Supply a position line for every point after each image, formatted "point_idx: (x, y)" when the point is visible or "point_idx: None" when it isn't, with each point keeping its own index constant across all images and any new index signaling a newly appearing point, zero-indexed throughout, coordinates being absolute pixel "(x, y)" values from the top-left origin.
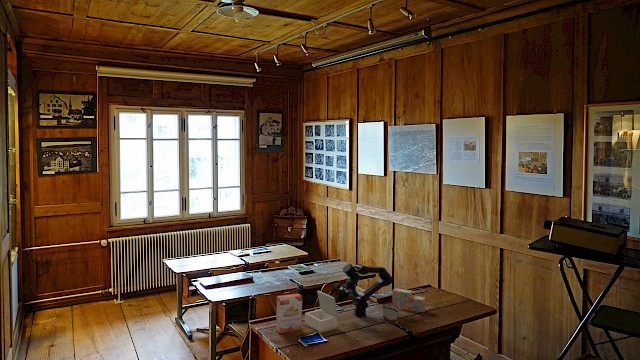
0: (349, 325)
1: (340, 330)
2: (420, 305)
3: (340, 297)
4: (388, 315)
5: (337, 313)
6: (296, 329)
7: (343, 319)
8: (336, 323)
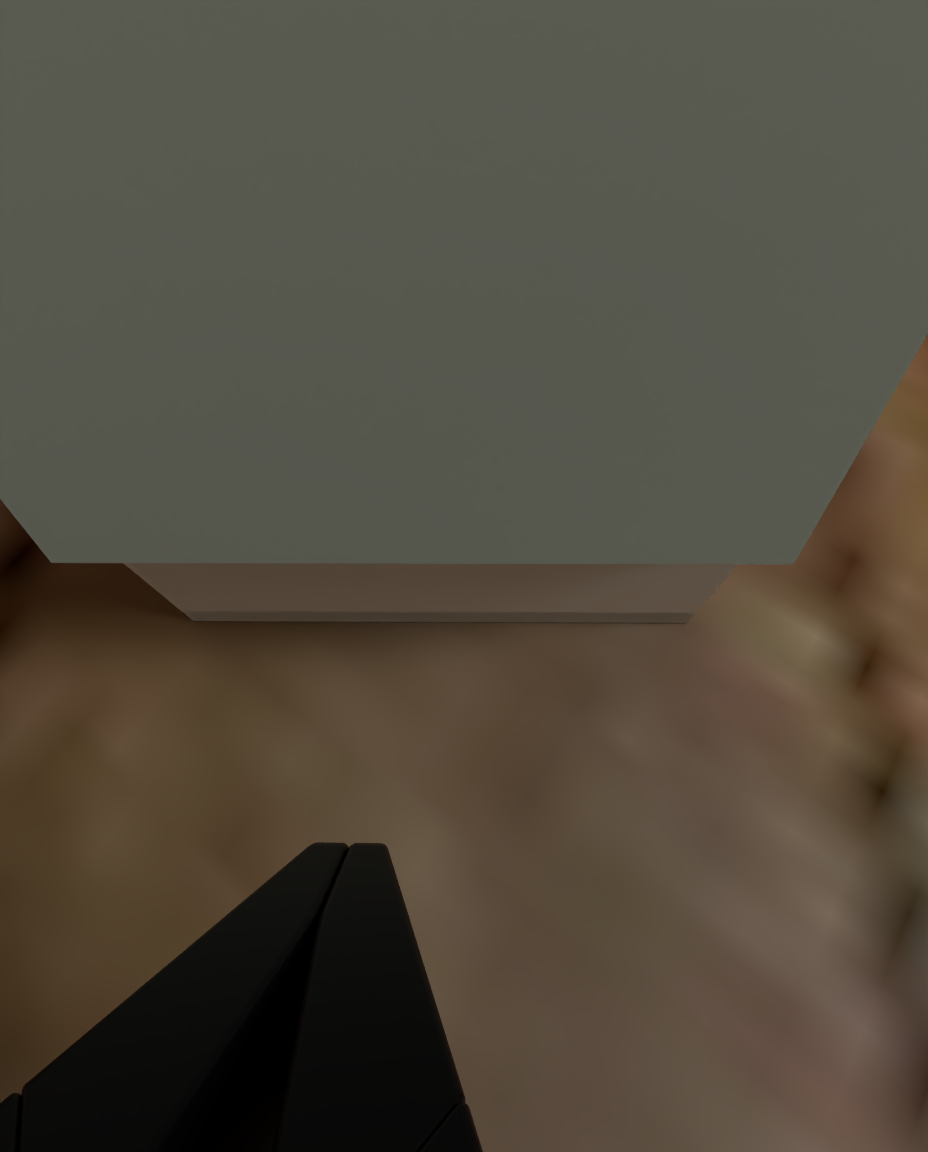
0: (118, 958)
1: (84, 629)
2: None
3: (121, 1013)
4: None
5: (5, 495)
6: None
7: (470, 1103)
8: (151, 585)
